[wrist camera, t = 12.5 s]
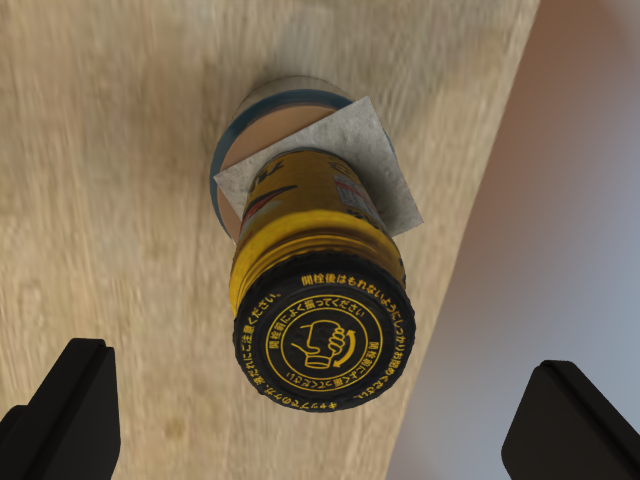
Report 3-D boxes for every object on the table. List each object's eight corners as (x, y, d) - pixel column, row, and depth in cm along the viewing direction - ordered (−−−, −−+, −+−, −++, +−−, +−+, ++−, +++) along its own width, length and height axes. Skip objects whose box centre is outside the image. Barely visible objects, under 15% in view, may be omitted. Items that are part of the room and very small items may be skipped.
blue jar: (230, 66, 30) (207, 78, 20) (383, 86, 31) (426, 106, 22) (223, 213, 34) (202, 278, 25) (358, 226, 35) (386, 292, 26)
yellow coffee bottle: (213, 175, 22) (149, 307, 11) (367, 94, 21) (459, 154, 10) (283, 287, 25) (286, 477, 14) (422, 220, 24) (538, 369, 13)
